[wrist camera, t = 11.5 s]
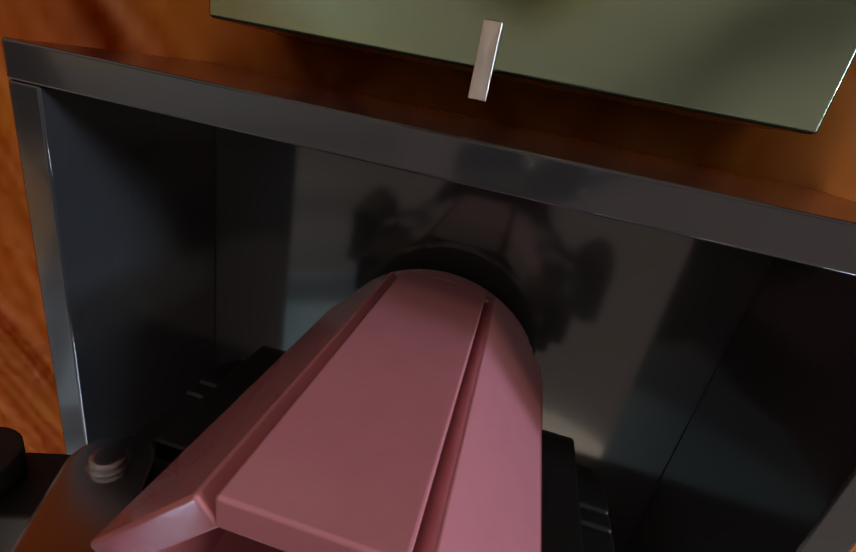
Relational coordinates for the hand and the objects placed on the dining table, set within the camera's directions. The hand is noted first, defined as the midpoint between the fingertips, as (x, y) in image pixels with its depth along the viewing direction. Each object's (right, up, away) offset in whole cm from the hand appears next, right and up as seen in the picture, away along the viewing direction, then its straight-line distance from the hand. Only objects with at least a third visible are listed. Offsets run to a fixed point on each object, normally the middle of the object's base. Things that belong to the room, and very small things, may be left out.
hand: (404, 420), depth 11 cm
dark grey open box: (+1, +1, +4) cm, 4 cm away
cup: (+1, +1, +2) cm, 2 cm away
